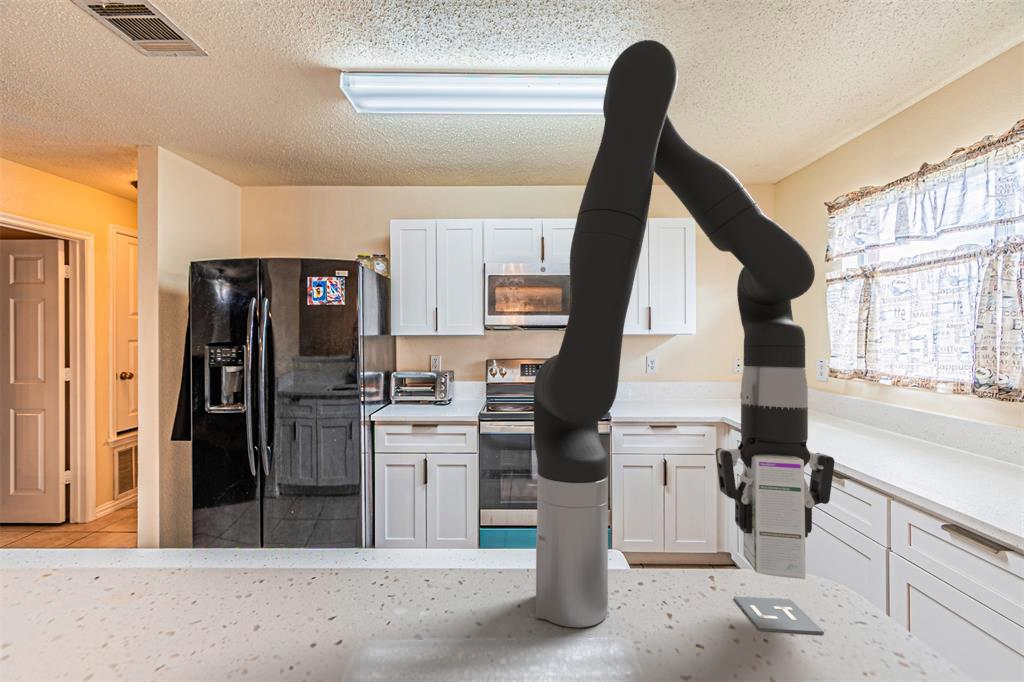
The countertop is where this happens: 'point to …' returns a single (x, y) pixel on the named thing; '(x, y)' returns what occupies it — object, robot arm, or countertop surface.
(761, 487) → the syrup box
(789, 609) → the tile
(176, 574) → the countertop surface
